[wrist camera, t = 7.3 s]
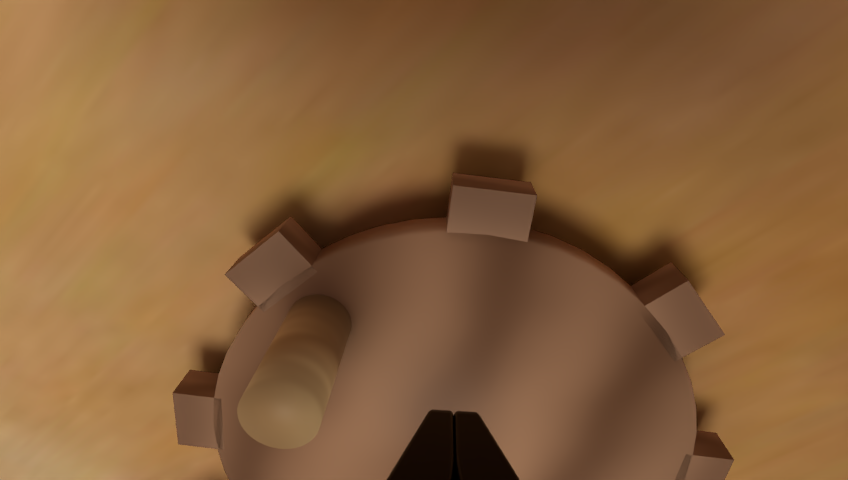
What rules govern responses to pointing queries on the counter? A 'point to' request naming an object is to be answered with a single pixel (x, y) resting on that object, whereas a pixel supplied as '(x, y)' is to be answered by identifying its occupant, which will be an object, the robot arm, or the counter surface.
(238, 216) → the counter surface
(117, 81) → the counter surface
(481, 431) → the robot arm
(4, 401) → the counter surface
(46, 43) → the counter surface
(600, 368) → the flat round disc
